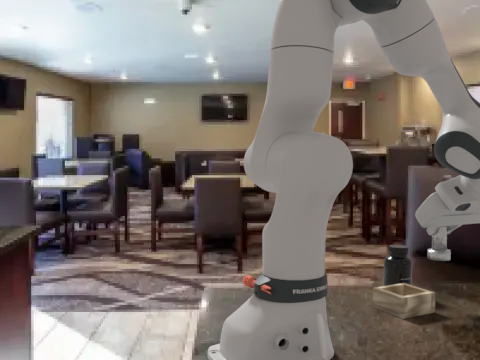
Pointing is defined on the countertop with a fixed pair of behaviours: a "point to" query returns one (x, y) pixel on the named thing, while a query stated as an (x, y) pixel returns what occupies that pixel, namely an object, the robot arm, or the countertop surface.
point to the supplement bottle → (397, 266)
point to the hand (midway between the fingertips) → (437, 232)
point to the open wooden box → (404, 300)
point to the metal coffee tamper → (439, 246)
